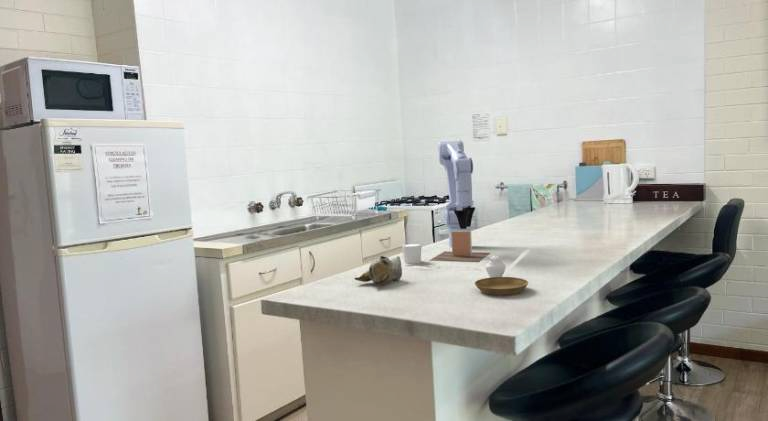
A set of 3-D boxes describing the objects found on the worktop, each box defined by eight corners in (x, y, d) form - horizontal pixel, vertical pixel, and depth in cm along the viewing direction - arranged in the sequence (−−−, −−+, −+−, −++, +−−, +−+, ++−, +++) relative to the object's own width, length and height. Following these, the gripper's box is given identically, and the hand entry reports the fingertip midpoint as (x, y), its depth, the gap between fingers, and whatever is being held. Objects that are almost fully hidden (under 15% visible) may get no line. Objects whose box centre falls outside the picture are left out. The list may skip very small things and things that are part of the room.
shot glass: (422, 262, 212) (421, 243, 212) (422, 266, 206) (421, 246, 205) (403, 262, 213) (402, 243, 212) (402, 266, 206) (401, 247, 206)
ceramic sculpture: (410, 252, 183) (373, 263, 174) (413, 280, 184) (376, 292, 175) (387, 249, 191) (351, 260, 182) (390, 276, 193) (354, 287, 183)
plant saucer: (475, 298, 161) (474, 289, 160) (474, 285, 175) (474, 277, 175) (531, 297, 159) (531, 288, 158) (525, 284, 173) (525, 276, 173)
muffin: (506, 280, 179) (505, 257, 178) (485, 280, 180) (484, 257, 179) (506, 275, 185) (505, 253, 184) (486, 275, 186) (485, 253, 185)
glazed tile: (453, 254, 218) (452, 230, 218) (472, 255, 216) (471, 230, 215) (452, 255, 217) (451, 231, 216) (470, 256, 214) (470, 231, 213)
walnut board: (444, 254, 226) (444, 251, 226) (491, 255, 219) (491, 252, 219) (428, 263, 210) (428, 260, 210) (478, 265, 203) (478, 262, 203)
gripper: (459, 189, 227) (460, 225, 228) (447, 193, 214) (449, 230, 215) (477, 189, 224) (478, 225, 226) (466, 192, 211) (468, 230, 212)
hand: (465, 227), depth 220 cm, fingers open, 5 cm apart
